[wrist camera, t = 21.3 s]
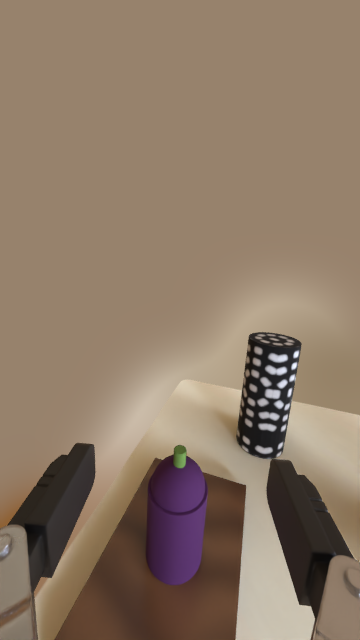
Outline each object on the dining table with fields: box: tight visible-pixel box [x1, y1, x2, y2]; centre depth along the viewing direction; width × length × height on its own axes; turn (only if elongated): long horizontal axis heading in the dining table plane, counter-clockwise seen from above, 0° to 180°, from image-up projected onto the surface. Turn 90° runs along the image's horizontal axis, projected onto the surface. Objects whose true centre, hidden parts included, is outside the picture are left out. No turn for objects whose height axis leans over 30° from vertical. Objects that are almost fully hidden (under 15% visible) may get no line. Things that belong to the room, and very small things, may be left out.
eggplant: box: [146, 445, 208, 585], centre depth 25 cm, size 6×6×13 cm
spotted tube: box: [237, 332, 301, 459], centre depth 44 cm, size 8×8×20 cm
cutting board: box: [55, 458, 246, 640], centre depth 27 cm, size 22×14×2 cm, turn 162°
